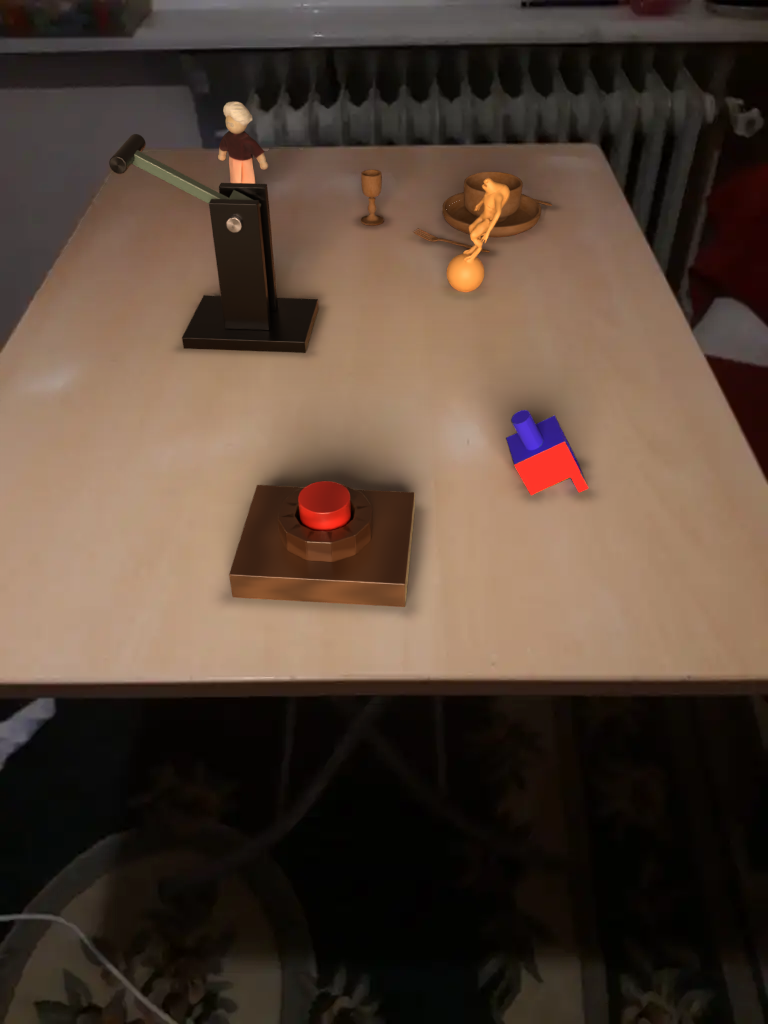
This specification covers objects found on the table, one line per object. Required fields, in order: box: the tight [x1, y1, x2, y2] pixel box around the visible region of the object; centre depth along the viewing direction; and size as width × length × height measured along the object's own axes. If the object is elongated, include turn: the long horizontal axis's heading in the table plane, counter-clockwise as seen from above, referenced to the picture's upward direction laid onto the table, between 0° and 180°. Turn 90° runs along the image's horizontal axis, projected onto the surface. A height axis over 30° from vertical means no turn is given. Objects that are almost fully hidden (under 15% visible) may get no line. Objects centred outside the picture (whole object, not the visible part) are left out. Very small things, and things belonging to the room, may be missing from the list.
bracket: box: [181, 182, 320, 354], centre depth 91 cm, size 12×9×14 cm
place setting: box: [360, 169, 553, 253], centre depth 115 cm, size 18×20×6 cm
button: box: [298, 480, 351, 531], centre depth 66 cm, size 4×4×2 cm
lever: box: [108, 133, 261, 206], centre depth 86 cm, size 13×6×2 cm, turn 85°
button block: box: [228, 483, 416, 608], centre depth 68 cm, size 12×10×4 cm
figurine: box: [446, 178, 510, 293], centre depth 97 cm, size 8×6×12 cm
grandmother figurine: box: [217, 101, 269, 184], centre depth 115 cm, size 8×4×13 cm, turn 67°
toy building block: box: [505, 409, 589, 496], centre depth 74 cm, size 4×4×8 cm
